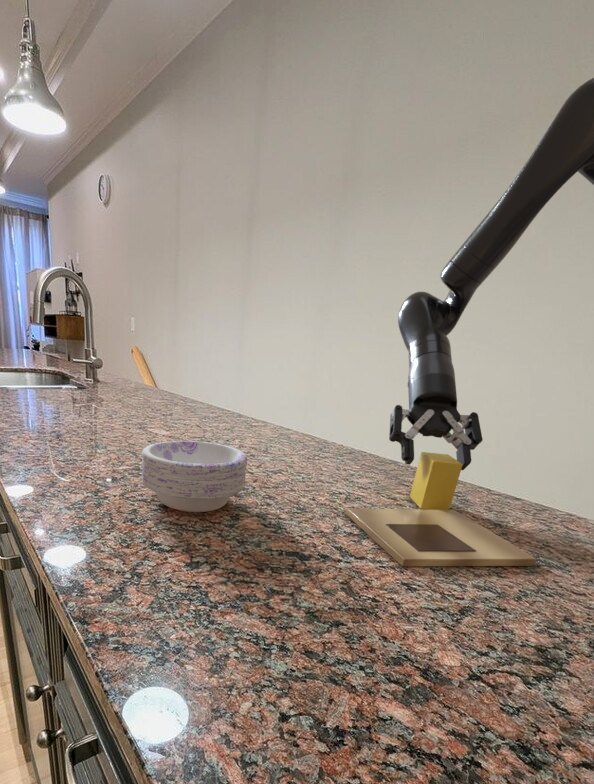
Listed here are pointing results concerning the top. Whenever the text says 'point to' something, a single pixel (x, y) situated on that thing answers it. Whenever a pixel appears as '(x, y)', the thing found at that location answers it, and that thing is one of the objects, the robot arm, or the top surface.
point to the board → (437, 538)
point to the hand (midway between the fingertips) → (436, 465)
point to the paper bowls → (193, 474)
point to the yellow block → (435, 481)
